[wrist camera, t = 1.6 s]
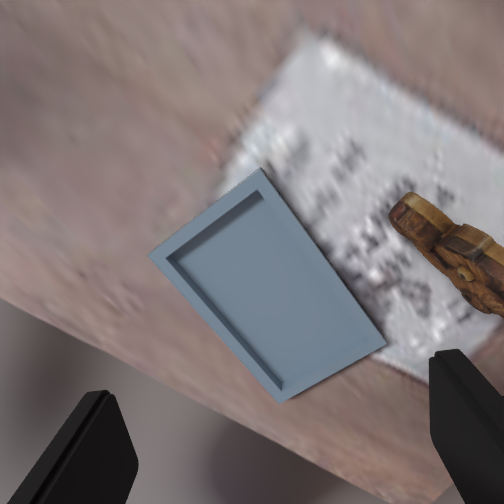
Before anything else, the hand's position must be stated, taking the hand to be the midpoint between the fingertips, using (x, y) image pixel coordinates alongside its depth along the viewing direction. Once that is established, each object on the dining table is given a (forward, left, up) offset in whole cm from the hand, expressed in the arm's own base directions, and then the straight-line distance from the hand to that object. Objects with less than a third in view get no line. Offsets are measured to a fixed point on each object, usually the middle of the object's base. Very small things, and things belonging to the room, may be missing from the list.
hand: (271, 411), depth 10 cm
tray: (+4, +6, -24) cm, 25 cm away
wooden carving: (-12, +12, -24) cm, 29 cm away
